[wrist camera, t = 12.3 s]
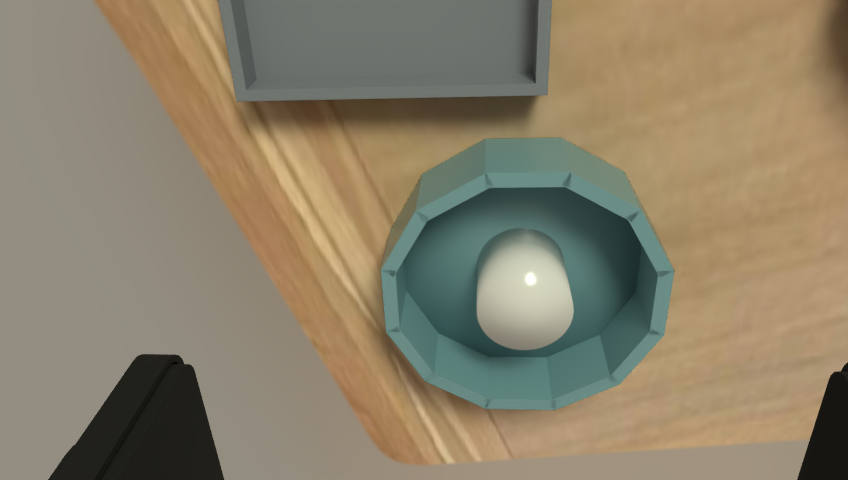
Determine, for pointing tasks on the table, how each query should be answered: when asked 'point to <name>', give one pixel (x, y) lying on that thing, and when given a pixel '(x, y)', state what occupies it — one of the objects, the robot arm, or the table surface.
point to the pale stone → (523, 290)
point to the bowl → (584, 260)
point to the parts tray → (386, 48)
